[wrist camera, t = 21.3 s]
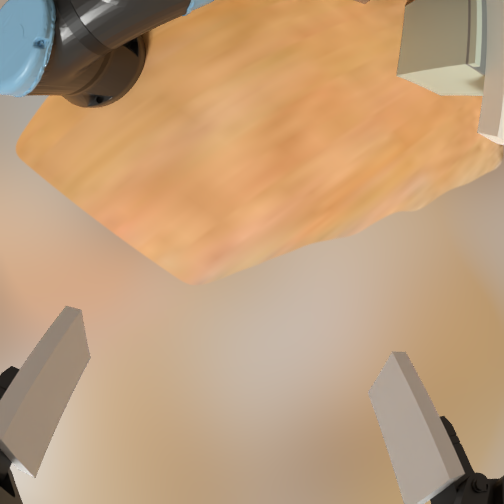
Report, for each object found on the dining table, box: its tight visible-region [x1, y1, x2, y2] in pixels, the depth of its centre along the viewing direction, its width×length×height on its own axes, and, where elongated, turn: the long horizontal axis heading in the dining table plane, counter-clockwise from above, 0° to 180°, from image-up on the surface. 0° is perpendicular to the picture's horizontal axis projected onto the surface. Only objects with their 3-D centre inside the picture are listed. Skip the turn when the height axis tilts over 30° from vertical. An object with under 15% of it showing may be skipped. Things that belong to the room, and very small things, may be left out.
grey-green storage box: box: [396, 0, 487, 96], centre depth 26 cm, size 14×9×20 cm, turn 170°
